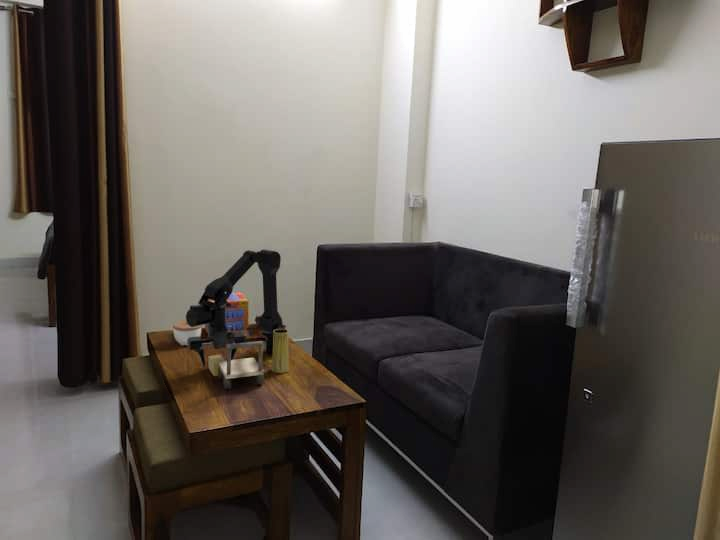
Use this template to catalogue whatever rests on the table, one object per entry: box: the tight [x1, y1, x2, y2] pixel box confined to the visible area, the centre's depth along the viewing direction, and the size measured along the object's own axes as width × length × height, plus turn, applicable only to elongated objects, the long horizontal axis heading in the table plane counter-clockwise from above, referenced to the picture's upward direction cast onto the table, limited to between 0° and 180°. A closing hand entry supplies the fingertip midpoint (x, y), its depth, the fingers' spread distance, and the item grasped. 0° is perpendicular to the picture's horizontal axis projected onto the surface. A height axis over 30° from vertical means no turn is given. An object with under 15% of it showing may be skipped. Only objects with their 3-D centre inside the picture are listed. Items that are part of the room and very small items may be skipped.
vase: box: [270, 328, 290, 374], centre depth 185 cm, size 6×6×14 cm
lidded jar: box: [172, 320, 203, 347], centre depth 210 cm, size 11×11×9 cm
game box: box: [204, 292, 250, 338], centre depth 225 cm, size 16×16×16 cm
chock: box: [208, 354, 226, 377], centre depth 183 cm, size 4×8×4 cm, turn 28°
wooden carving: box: [246, 314, 287, 339], centre depth 221 cm, size 16×5×10 cm, turn 111°
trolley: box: [217, 340, 265, 390], centre depth 174 cm, size 12×13×15 cm
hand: (217, 365), depth 183 cm, fingers open, 8 cm apart
